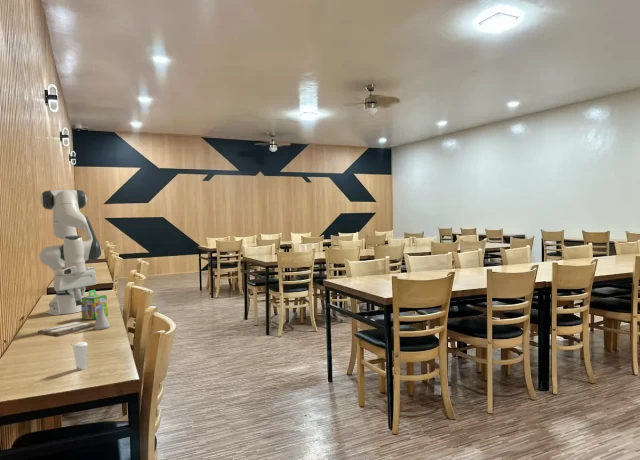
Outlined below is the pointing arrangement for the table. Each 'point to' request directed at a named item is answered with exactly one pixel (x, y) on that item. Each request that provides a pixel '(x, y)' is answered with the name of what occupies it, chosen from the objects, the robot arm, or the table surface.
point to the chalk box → (93, 305)
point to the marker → (78, 296)
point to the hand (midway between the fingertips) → (77, 297)
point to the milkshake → (80, 355)
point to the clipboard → (67, 328)
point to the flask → (101, 320)
